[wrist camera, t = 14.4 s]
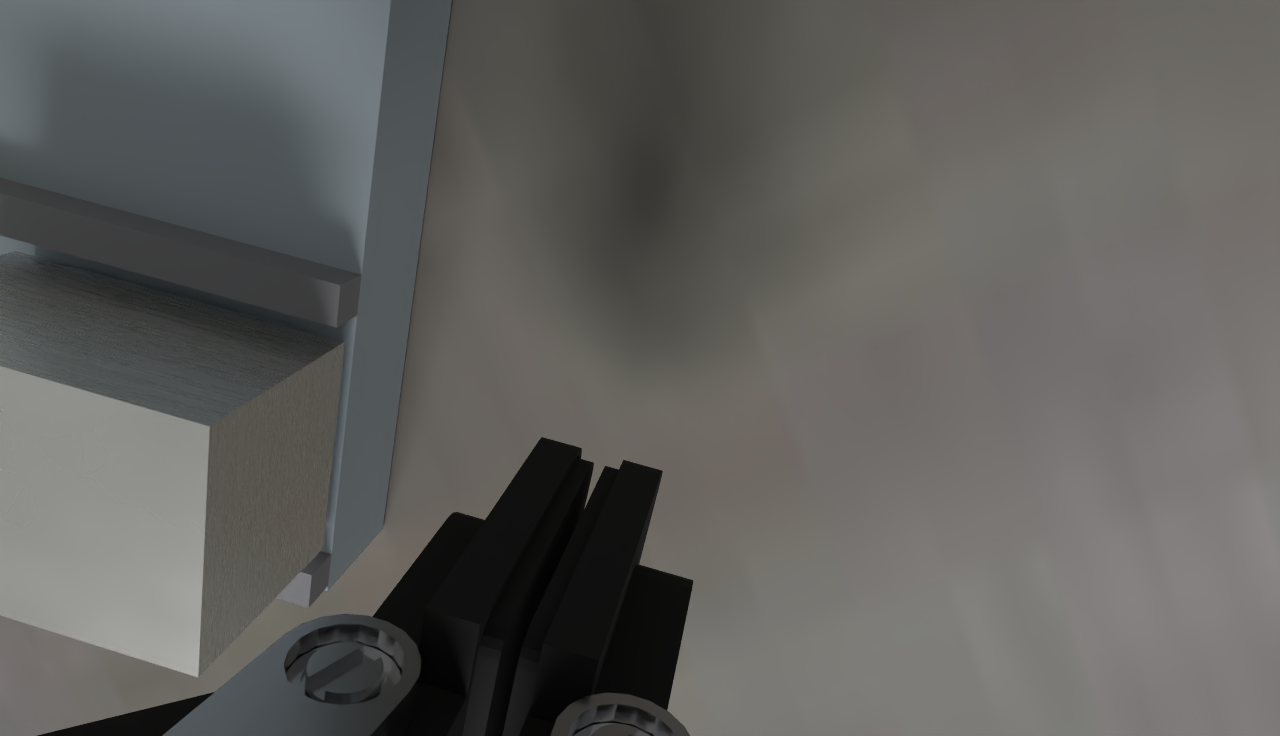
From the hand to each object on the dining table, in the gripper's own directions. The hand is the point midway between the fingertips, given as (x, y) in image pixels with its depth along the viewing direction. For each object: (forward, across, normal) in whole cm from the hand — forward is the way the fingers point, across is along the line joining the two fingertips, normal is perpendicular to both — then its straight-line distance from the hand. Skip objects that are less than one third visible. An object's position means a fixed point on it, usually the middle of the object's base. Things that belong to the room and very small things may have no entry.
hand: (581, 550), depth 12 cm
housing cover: (+1, +6, 0) cm, 6 cm away
